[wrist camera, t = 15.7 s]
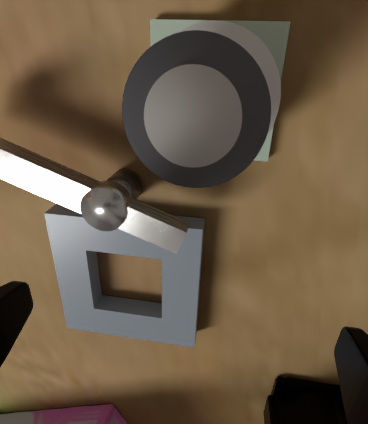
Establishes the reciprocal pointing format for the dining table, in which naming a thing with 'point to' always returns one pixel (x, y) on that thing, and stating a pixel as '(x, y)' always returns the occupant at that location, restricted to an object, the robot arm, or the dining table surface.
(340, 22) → the dining table surface
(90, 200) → the lever
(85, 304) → the socket block
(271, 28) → the pad
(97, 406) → the gum box
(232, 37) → the plug
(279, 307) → the dining table surface
